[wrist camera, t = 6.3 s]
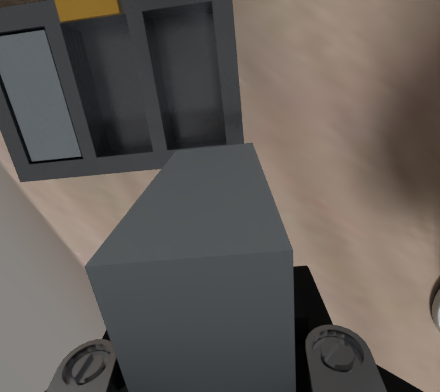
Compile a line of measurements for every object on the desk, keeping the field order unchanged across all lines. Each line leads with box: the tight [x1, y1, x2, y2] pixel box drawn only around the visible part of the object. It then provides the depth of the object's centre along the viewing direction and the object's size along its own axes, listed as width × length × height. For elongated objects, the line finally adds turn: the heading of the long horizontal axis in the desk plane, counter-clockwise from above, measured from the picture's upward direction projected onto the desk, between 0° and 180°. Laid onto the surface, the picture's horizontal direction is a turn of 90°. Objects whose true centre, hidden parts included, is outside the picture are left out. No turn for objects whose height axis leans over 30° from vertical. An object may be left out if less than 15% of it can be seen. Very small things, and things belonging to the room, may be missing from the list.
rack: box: [0, 0, 244, 182], centre depth 23 cm, size 20×13×4 cm, turn 96°
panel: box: [85, 143, 296, 392], centre depth 9 cm, size 3×8×8 cm, turn 7°
